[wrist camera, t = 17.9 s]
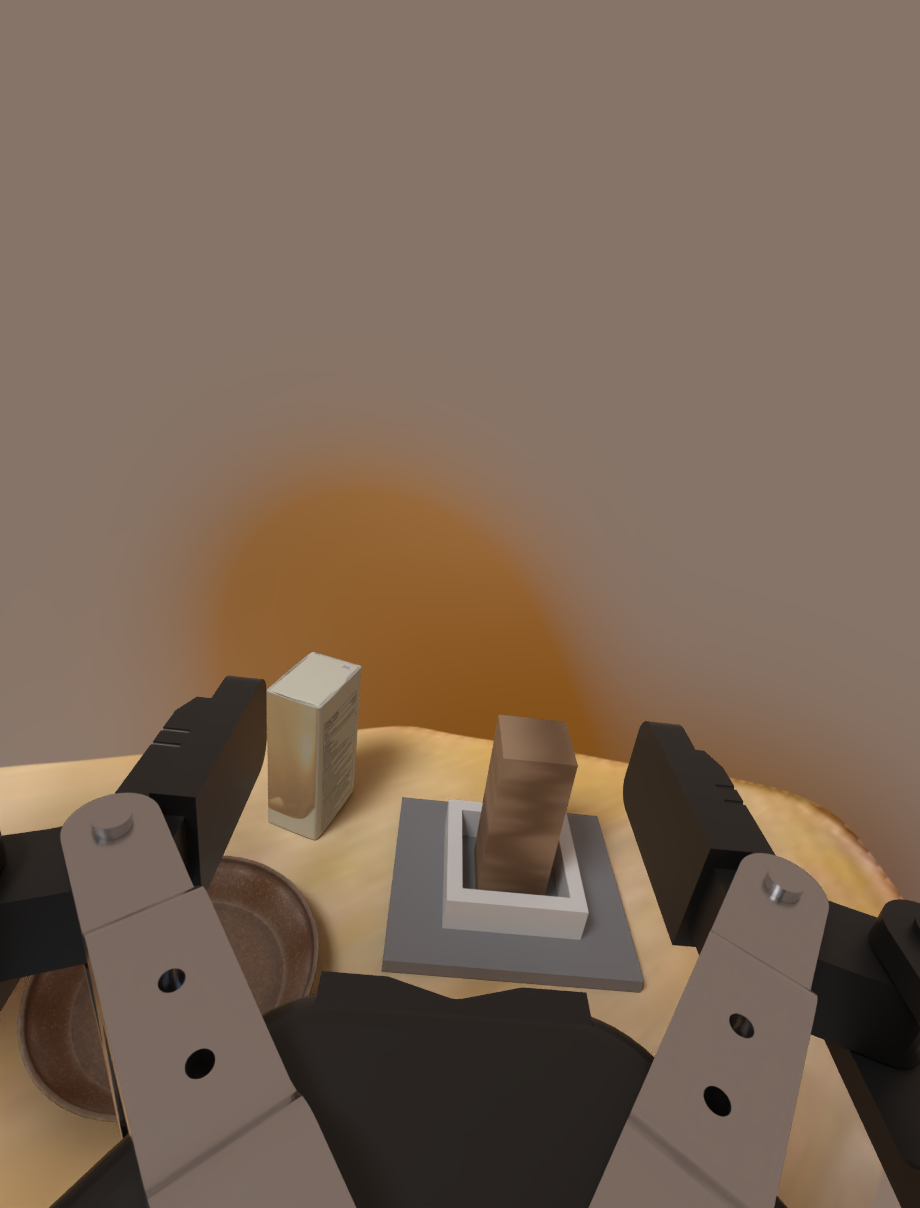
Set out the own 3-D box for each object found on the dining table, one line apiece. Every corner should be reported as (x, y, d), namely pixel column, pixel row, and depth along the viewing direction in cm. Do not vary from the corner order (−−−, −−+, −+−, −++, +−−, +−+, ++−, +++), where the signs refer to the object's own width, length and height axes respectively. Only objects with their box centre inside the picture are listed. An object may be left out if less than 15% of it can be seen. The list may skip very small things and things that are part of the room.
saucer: (68, 1240, 25) (59, 1207, 24) (0, 968, 35) (-9, 935, 34) (366, 1015, 35) (369, 984, 34) (249, 850, 45) (249, 822, 43)
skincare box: (309, 774, 52) (313, 648, 47) (355, 791, 51) (364, 663, 46) (263, 825, 46) (263, 687, 42) (314, 845, 45) (320, 706, 40)
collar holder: (381, 971, 37) (386, 931, 36) (401, 806, 50) (405, 772, 49) (640, 992, 38) (654, 954, 37) (594, 825, 51) (603, 792, 49)
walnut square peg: (475, 901, 41) (503, 758, 37) (474, 849, 46) (498, 714, 41) (541, 907, 42) (577, 765, 37) (534, 855, 46) (565, 721, 41)
